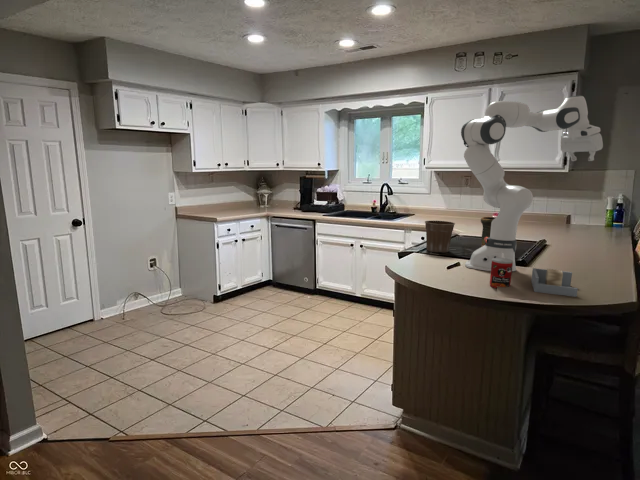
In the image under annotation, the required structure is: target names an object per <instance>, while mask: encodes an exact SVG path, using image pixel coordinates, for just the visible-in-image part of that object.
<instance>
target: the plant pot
mask: <svg viewBox="0 0 640 480" xmlns="http://www.w3.org/2000/svg"><path fill="white" fill-rule="evenodd" d="M424 224H425V231H426V232H425V233H426V237H425V239H426V240H425V242H426V250H427V251H428V252H431V253H442V254H443V253H448V252H450V247H451V241H452V236H453V231H454V227H455V224H456V223H455V222H453V221H445V220H425V221H424Z"/></svg>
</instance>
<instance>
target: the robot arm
mask: <svg viewBox="0 0 640 480" xmlns="http://www.w3.org/2000/svg"><path fill="white" fill-rule="evenodd" d="M588 110H589V109H588V105H587V101H586V98H585V97H584V96H583V95H580V94H579V95H573V96H572V95H571V96H567V97H565V98H564V101H563V102H562V104H561V105H560V106H558V107H557V108H552V109H542V110H541V109H540V110H539V111H537V112H533V111H531V110H530V108H529V105H528V104H527V103H525V102H520V101H516V100H515V101H514V100H498V101H492V102H491V103H490V104H488V105H487V107H486V109H485V112H484V116H483V118H482V117H479V118H476V119H470V120H468V121H467V122H465V123H464V124H463V125H462V127H461V129H460V135H461V139H462V141H463V145H464V146H465V147H466V149H465V151H464V153H463V157H464V160H465V163H466V164H467V166H468V167H469V170H470V171H471V172H472V174H473V175H474V177H475V178H476V179H477V180H478V182H479V183H480V185H481V187H482V189H483V194H482V195H483V197H482V198H483V201H484V203H485V204H487V205H489V206H491V207H493V208H496V209H499V211H498V214H497V216H495V217H496V218H495V219H493V221H492V223H491V232H490V237H489V238H488V237H485V239H484V240H485V245H484V246H482V245H481V247H479V248H477V249H475V250H474V251H473V252H472V253H471V256H470V259H469V260H466V261H465V264H464V265H465V267H466V268H468V269H475V270H480V271H487V272H491V264H492V259H493V258H507V259H511V260H512V261H513V266H512V272H516V271H517V267H516V259H515V258H516V256H515V253H516V250H517V244H518V243H517V233H518V226H519V225H518V224H519V221H520V219H521V217H522V215H523V213H524V212H525V211H526V210H527V209H529V208H530V207H531V205H532V203H533V199H534V196H533V192H532V191H531V190H530V189H528V188H526V187H524V186H521V185H513V184H508V183H507V182H506V181H505V179H504V178H505V173H506V172H505V169H504V168H503V167H502V166H501V164H500V162H499V161H498V160H497V158H496V157H495V156H494V154H493V153H492V151H491V149H490V145H495V144H498V143H500V142H501V141H502V140H504V139H503V138H504V137H505V134H506V131H507V128H511V129H512V128H522V127H524V126H525V127H531V128H534V129H535V130H536V131H538V132H541V133H545V132H549V131H561V130H563V131H564V130H567V132H566V131H565V132H563V133H561V135H560V151H561V152H562V153H567V154H568V156H569V157H570V158H571V162H576V161H577V160H578V159H577V156H575V153H579V152H584V153H585V152H587V153H588V154H589V156H588V157H587V161H588V162H593V161H595V155H596V152H598V151H601V150H602V149H603V148H604V143H603V136H602V134H601V133H600V132H601V131H602V130H601V127H599V126H595V125H593V124H590V120H589V117H588V116H589V115H588V114H589V111H588Z"/></svg>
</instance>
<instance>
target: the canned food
mask: <svg viewBox="0 0 640 480" xmlns="http://www.w3.org/2000/svg"><path fill="white" fill-rule="evenodd" d="M512 266H513V261H512V260H511V259H507V258H493V259H492V264H491V271H490V277H489V286H490V287H491V288H494V289H498V287H500V288H508V287H510V286H511V283H512V282H511V281H512V274H513V271H512Z"/></svg>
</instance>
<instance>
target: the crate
mask: <svg viewBox="0 0 640 480" xmlns="http://www.w3.org/2000/svg"><path fill="white" fill-rule="evenodd" d="M561 271H562V270H561ZM546 272H547V268H546V269H545V268H544V269H543V268H535V267H533V268H532V273H531V280H530V281H531V282H530V283H531V285H532V288H533V292H534V293H543V294H550V295H559V296H565V297H566V296H567V297H573V298H575V297H577V296H578V288H577V287H571V284H572V276H573V272H571V271H564V270H563V271H562V272H563V278H562V285H561V286H555V285H546V284H545V280H546Z"/></svg>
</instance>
